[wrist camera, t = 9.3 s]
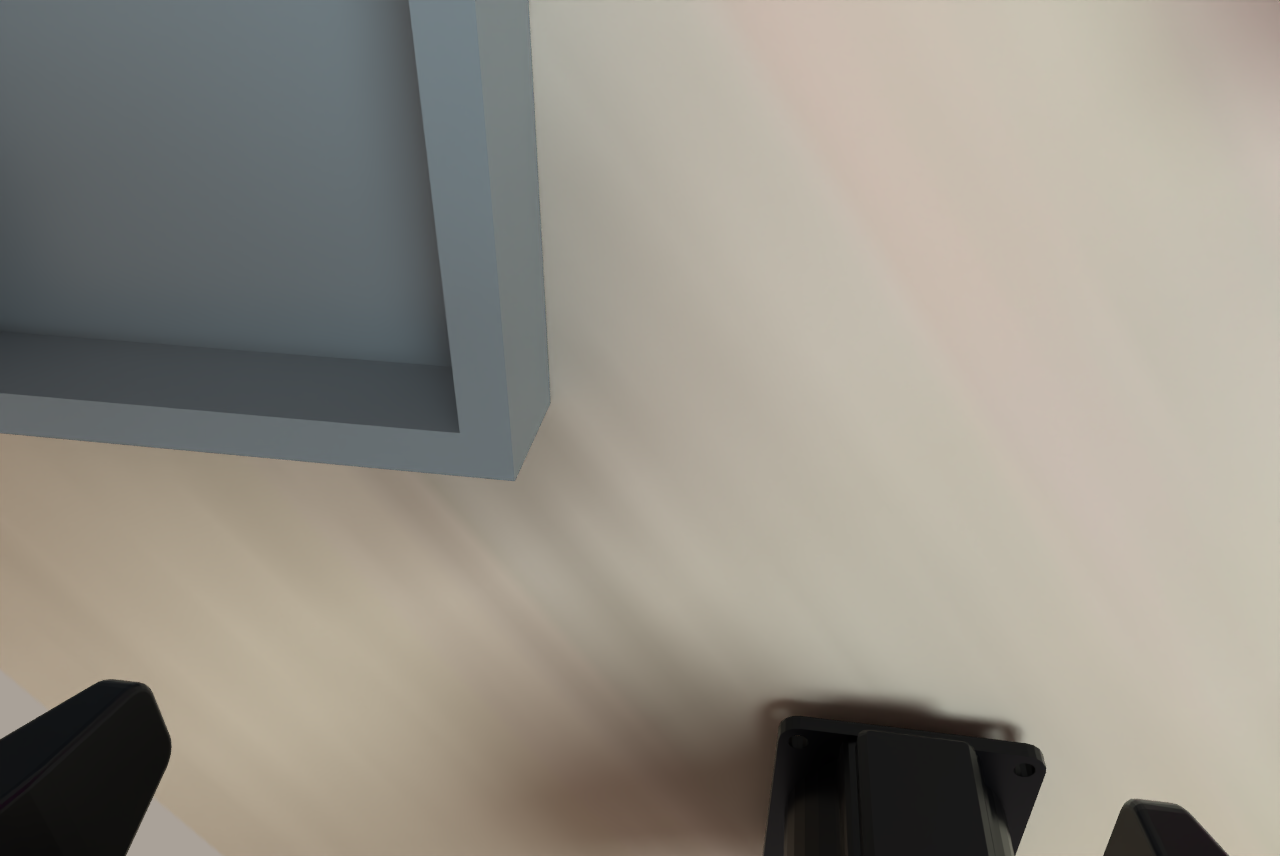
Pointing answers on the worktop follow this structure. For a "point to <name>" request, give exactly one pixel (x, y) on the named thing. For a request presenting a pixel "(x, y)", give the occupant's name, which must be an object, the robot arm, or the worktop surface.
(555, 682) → the worktop surface
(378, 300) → the tray
